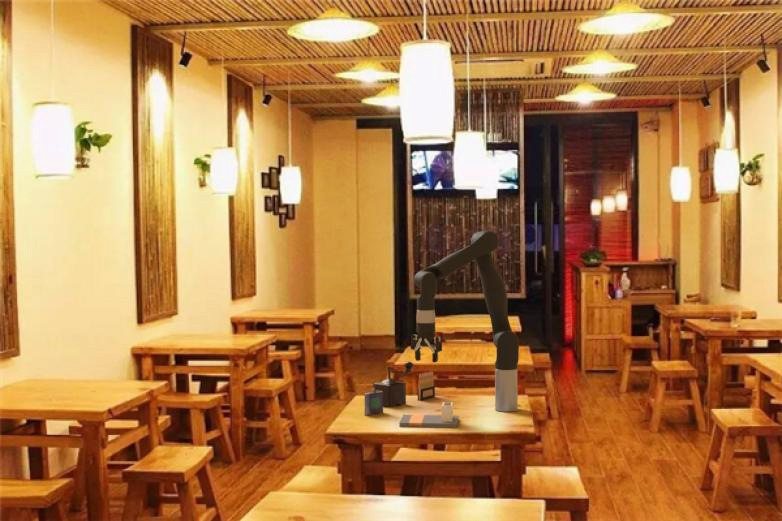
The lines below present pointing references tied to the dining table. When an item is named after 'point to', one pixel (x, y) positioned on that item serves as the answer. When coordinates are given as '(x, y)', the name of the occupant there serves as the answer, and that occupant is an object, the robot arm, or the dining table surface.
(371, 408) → the flask
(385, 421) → the dining table surface
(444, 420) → the block
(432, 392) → the ammunition clip
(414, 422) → the board
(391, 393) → the black coffee grinder
